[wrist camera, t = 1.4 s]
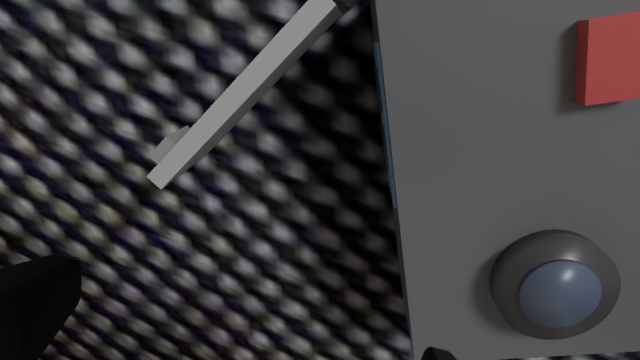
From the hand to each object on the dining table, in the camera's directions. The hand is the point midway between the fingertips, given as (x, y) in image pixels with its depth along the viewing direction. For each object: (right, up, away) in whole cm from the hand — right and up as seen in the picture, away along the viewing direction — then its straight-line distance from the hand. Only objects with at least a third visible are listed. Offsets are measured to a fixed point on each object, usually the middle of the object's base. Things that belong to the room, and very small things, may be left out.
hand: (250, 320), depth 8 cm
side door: (-1, +7, +10) cm, 13 cm away
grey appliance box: (+9, +4, +11) cm, 14 cm away
